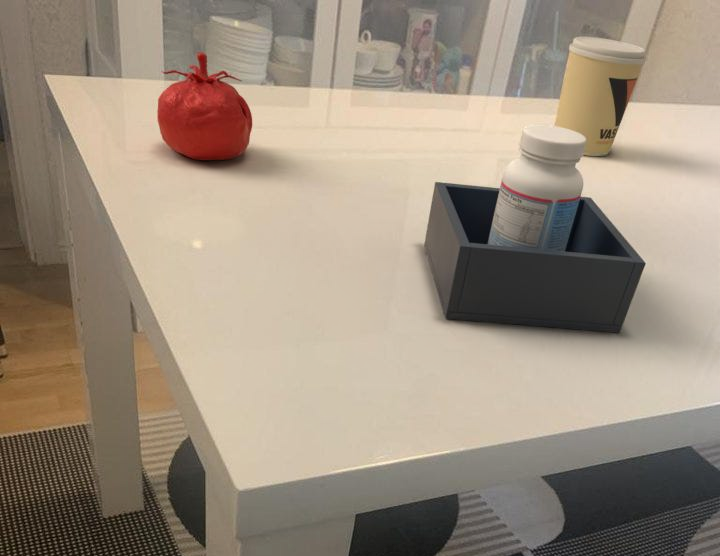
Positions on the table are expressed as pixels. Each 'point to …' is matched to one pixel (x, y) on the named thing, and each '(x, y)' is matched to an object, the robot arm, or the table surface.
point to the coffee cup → (598, 89)
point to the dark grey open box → (528, 267)
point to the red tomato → (204, 115)
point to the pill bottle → (540, 190)
